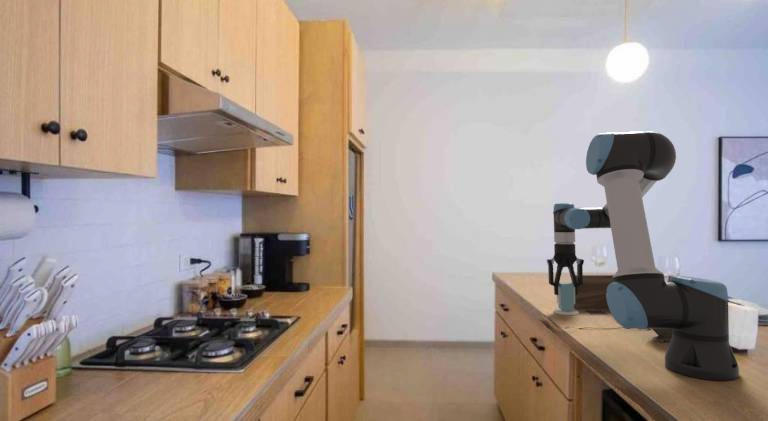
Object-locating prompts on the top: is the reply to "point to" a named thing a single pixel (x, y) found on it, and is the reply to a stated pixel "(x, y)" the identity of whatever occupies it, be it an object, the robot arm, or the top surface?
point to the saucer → (566, 312)
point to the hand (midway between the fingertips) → (566, 303)
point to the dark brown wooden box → (593, 293)
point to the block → (566, 296)
